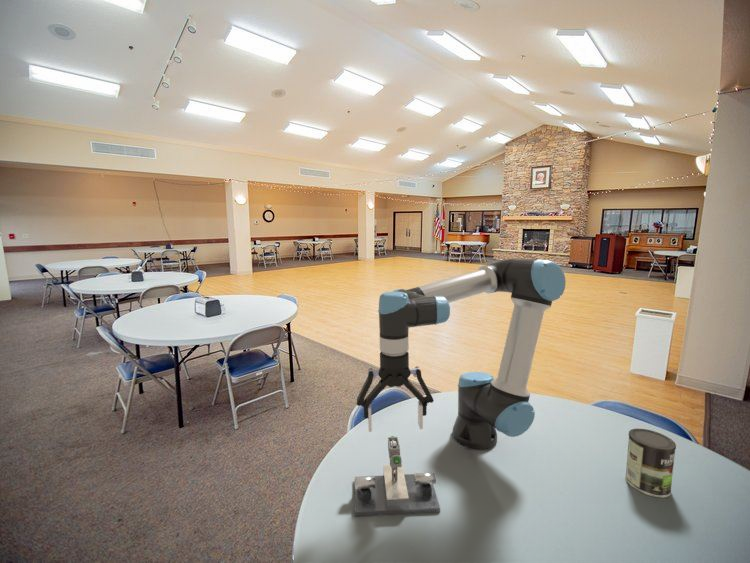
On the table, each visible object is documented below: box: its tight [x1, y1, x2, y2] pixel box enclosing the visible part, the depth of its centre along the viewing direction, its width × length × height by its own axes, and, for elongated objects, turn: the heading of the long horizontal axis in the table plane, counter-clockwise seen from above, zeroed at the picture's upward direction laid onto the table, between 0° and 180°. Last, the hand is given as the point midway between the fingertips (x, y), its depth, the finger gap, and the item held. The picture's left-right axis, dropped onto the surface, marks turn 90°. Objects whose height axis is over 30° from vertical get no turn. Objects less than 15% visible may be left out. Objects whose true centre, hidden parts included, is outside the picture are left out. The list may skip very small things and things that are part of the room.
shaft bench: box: [354, 464, 441, 517], centre depth 94 cm, size 22×13×6 cm, turn 93°
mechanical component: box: [387, 435, 403, 481], centre depth 93 cm, size 3×10×10 cm, turn 4°
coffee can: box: [624, 428, 677, 499], centre depth 96 cm, size 10×10×14 cm
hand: (395, 427), depth 92 cm, fingers open, 13 cm apart
